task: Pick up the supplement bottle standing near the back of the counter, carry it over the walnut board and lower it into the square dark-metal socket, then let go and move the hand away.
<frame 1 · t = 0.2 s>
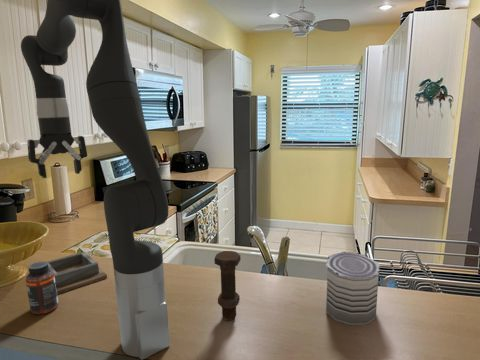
hand: (61, 175, 99), 29 cm above the countertop, tool pointing down, fingers open, 8 cm apart
can: (350, 311, 83), on the countertop
socket board: (71, 276, 102), on the countertop
bolt: (229, 318, 81), on the countertop
supplement bottle: (45, 309, 86), on the countertop
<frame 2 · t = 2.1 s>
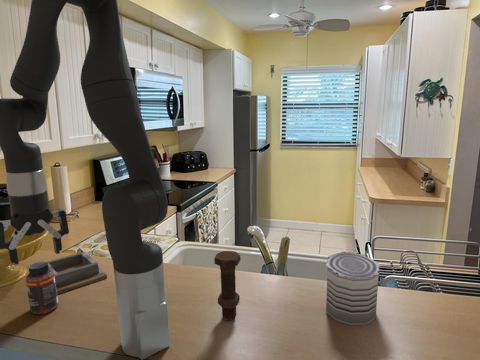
hand: (37, 257, 83), 13 cm above the countertop, tool pointing down, fingers open, 8 cm apart
nothing on the countertop moved.
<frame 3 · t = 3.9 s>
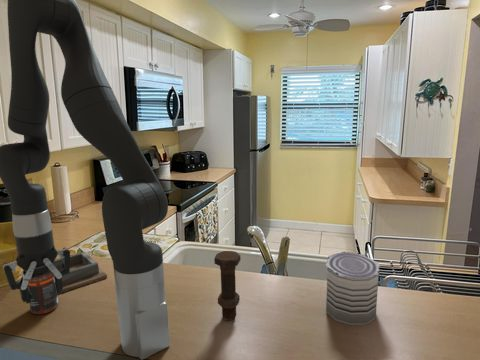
hand: (43, 296, 85), 3 cm above the countertop, tool pointing down, fingers closed on supplement bottle, 6 cm apart
supplement bottle: (45, 309, 86), on the countertop, touching gripper
everything else where it was.
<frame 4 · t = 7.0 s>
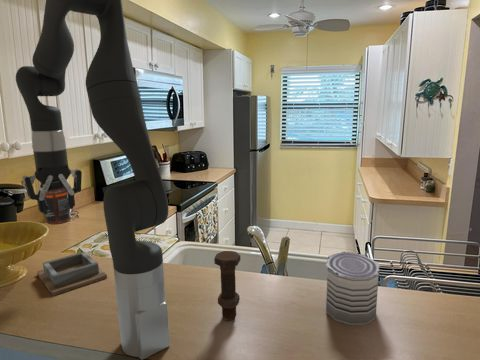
hand: (57, 210, 96), 20 cm above the countertop, tool pointing down, fingers closed on supplement bottle, 6 cm apart
supplement bottle: (59, 222, 96), point 17 cm above the countertop, touching gripper
everything else where it was.
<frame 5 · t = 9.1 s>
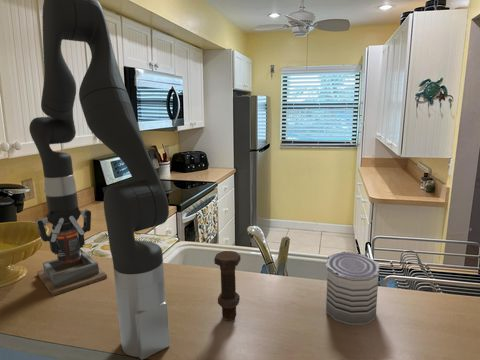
hand: (68, 249, 100), 8 cm above the countertop, tool pointing down, fingers closed on supplement bottle, 6 cm apart
supplement bottle: (69, 260, 101), point 5 cm above the countertop, touching gripper
everything else where it was.
when the fingers open (5 cm above the countertop, at t = 10.6 s): supplement bottle drops 1 cm, resting on socket board.
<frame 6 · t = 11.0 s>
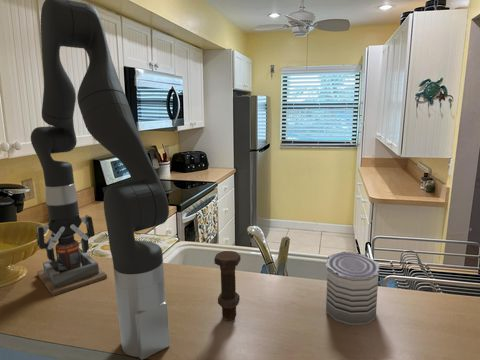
hand: (69, 256, 101), 6 cm above the countertop, tool pointing down, fingers open, 8 cm apart
supplement bottle: (71, 273, 102), point 1 cm above the countertop, touching socket board
everything else where it was.
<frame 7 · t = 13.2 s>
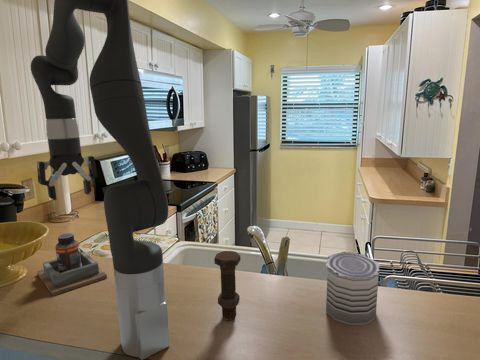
hand: (71, 196, 97), 23 cm above the countertop, tool pointing down, fingers open, 8 cm apart
nothing on the countertop moved.
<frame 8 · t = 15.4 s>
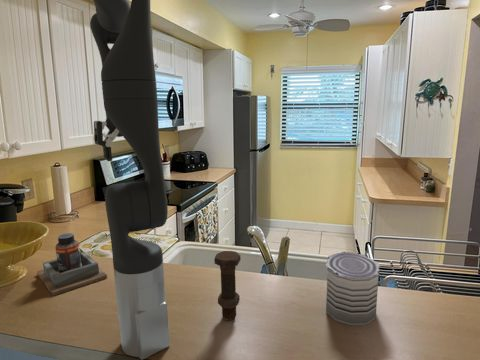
hand: (125, 159, 96), 33 cm above the countertop, tool pointing down, fingers open, 8 cm apart
nothing on the countertop moved.
at the end: supplement bottle 0.2 cm off-centre on the socket board, point 0.8 cm above the socket board's base; supplement bottle tilted 0°; the gripper is holding nothing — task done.
